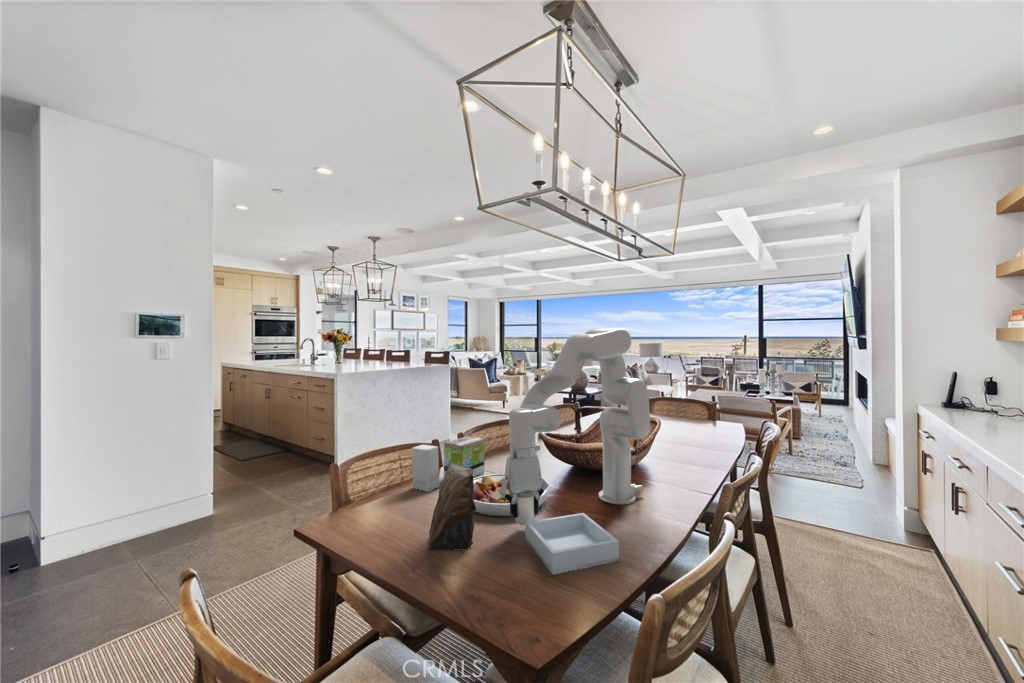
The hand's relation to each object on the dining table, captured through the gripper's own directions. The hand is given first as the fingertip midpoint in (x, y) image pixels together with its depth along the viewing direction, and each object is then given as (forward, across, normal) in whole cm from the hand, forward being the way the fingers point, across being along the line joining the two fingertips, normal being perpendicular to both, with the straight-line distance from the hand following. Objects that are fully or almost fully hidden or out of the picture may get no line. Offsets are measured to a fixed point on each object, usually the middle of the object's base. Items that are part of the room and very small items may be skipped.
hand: (524, 513), depth 118 cm
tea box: (+6, +6, -55) cm, 55 cm away
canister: (+2, 0, 0) cm, 2 cm away
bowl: (+6, -1, -24) cm, 25 cm away
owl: (+5, +22, -1) cm, 22 cm away
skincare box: (+5, +23, -46) cm, 51 cm away
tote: (+5, -7, +14) cm, 17 cm away
